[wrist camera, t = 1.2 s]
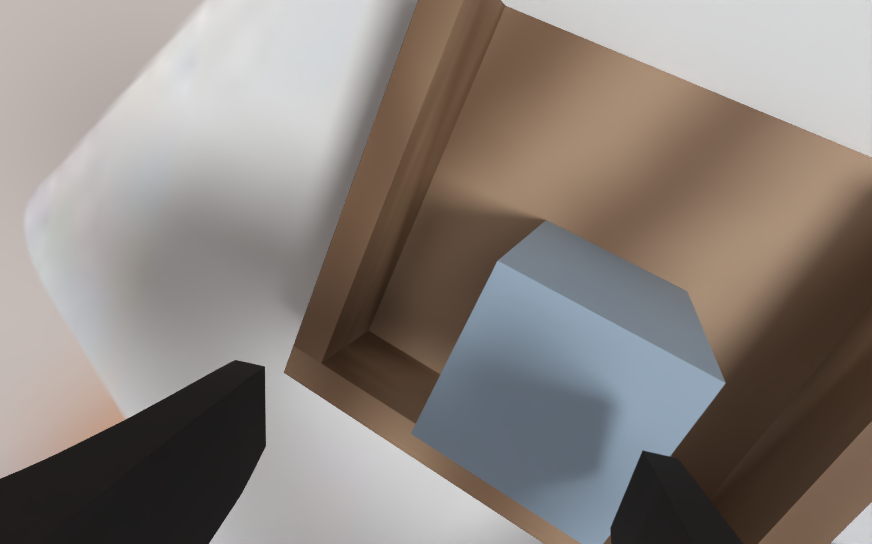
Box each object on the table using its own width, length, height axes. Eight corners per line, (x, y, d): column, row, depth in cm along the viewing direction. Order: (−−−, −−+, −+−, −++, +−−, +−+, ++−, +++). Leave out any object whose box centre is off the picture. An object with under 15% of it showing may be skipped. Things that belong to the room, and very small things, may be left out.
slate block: (687, 291, 16) (725, 383, 10) (607, 409, 18) (596, 553, 12) (546, 219, 17) (497, 260, 11) (484, 338, 19) (410, 433, 13)
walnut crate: (987, 211, 14) (1136, 236, 10) (697, 546, 19) (716, 656, 15) (480, 0, 17) (435, -46, 13) (347, 331, 22) (283, 372, 18)
